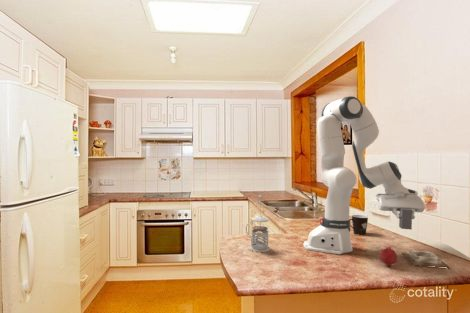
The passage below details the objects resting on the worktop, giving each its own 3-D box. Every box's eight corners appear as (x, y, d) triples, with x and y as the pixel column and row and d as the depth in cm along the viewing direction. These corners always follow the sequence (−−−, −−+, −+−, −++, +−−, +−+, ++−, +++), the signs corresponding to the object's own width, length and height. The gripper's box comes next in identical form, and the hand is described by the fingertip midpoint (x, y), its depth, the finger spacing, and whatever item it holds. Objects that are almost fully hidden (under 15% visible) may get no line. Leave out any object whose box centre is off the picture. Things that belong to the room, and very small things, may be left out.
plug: (401, 228, 131) (402, 209, 131) (399, 226, 135) (399, 207, 135) (411, 229, 130) (412, 209, 130) (408, 227, 134) (409, 208, 134)
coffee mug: (364, 232, 166) (364, 215, 166) (370, 236, 158) (370, 218, 158) (344, 231, 167) (344, 214, 168) (348, 235, 159) (348, 217, 159)
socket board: (412, 265, 114) (412, 258, 114) (401, 254, 127) (401, 248, 127) (449, 269, 111) (449, 261, 111) (435, 257, 124) (435, 251, 124)
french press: (269, 252, 127) (270, 197, 128) (244, 250, 130) (244, 196, 130) (271, 246, 137) (271, 194, 137) (247, 244, 139) (248, 193, 140)
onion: (388, 269, 110) (388, 248, 110) (377, 264, 115) (377, 244, 115) (400, 268, 111) (400, 247, 111) (388, 262, 117) (389, 243, 117)
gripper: (376, 189, 140) (385, 213, 130) (420, 191, 138) (432, 215, 129) (373, 197, 144) (380, 220, 135) (414, 199, 143) (425, 222, 133)
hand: (406, 218), depth 132 cm, fingers closed on plug, 4 cm apart
